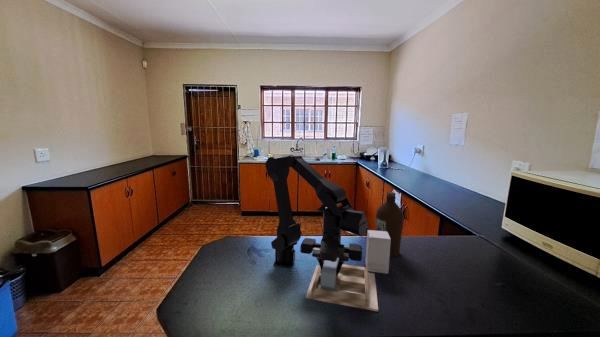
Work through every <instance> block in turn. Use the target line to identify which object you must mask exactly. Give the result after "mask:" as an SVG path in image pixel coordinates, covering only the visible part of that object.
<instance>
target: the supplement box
mask: <svg viewBox="0 0 600 337" xmlns="http://www.w3.org/2000/svg"><path fill="white" fill-rule="evenodd" d="M366 233H367V234H366V247H365V248H366V249H365V267H366V268H367V271H368V272H369V273H378V274H379V273H380V274H386V275H387V274H389V269H390V258H391V257H390V243H391V239H390V236H389V234H388V232H386V231H376V230H375V229H373V230H372V229H367V230H366Z"/></svg>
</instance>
